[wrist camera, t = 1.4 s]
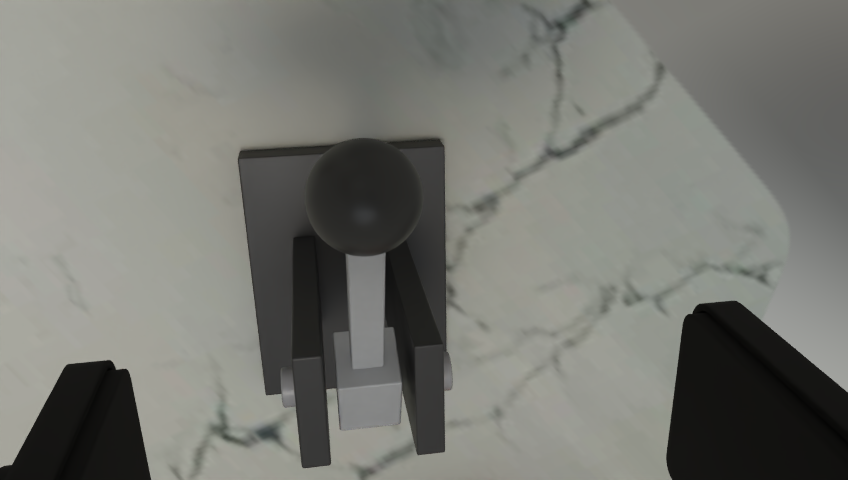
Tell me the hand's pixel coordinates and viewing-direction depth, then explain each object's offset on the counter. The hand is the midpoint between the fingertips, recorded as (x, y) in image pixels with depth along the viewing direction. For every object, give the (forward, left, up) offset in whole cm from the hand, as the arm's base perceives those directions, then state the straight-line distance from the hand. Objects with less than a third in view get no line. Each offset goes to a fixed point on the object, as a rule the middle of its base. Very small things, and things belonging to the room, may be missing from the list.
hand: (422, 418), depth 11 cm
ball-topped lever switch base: (+7, +3, -24) cm, 25 cm away
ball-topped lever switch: (+3, +1, -13) cm, 14 cm away
